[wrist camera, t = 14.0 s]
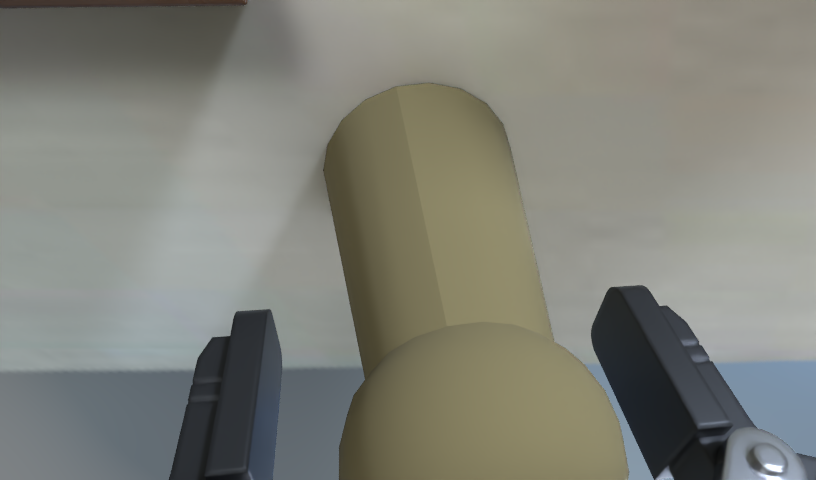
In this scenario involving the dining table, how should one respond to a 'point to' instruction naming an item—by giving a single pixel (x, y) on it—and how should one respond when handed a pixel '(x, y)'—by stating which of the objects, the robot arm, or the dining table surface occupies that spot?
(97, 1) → the rails
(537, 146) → the dining table surface
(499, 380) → the cork
